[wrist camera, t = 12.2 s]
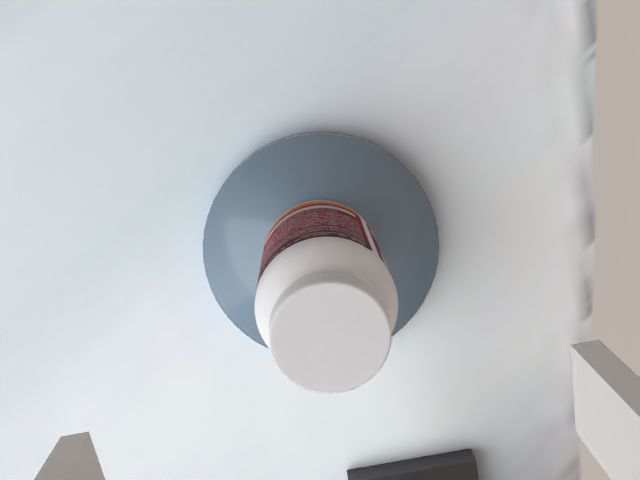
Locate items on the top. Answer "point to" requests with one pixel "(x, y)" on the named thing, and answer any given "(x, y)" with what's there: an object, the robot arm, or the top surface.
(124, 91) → the top surface
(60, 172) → the top surface
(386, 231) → the dish
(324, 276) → the pill bottle
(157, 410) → the top surface
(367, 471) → the balance
